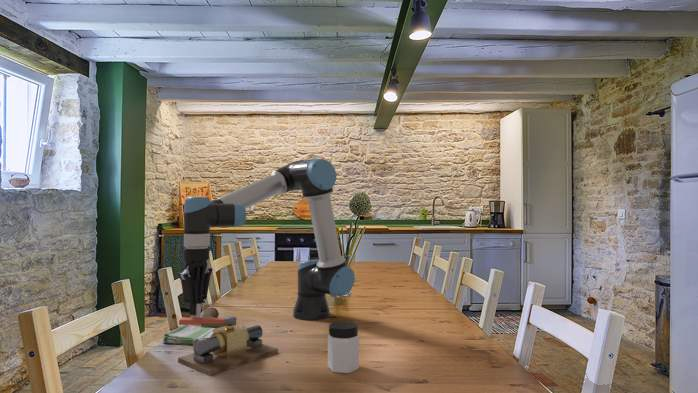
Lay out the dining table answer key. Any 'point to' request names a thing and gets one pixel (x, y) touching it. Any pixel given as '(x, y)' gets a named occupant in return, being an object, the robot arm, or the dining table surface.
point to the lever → (207, 320)
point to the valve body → (227, 342)
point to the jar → (343, 347)
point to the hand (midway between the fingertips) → (195, 325)
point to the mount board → (228, 360)
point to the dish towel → (187, 335)
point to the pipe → (211, 313)
